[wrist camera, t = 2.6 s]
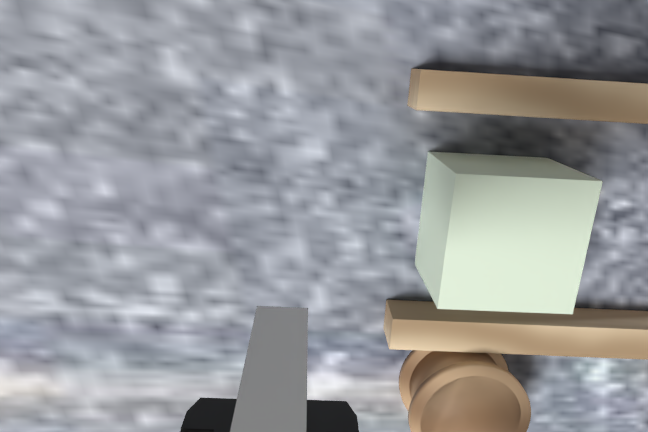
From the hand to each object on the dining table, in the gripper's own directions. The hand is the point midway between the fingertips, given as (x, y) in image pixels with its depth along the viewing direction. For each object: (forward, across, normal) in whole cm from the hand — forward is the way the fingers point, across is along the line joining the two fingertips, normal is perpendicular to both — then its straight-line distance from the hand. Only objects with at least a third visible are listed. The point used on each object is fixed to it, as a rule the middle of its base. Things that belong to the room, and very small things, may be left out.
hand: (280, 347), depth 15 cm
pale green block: (+16, +11, 0) cm, 19 cm away
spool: (+16, +11, -12) cm, 22 cm away
